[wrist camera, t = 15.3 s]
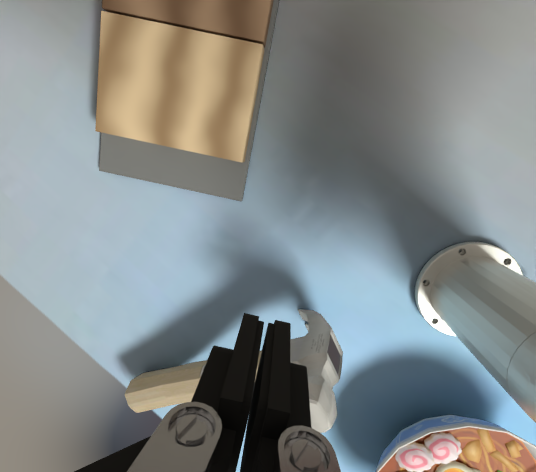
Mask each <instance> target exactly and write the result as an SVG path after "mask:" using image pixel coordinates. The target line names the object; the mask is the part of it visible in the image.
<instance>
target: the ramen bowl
mask: <svg viewBox="0 0 536 472" xmlns="http://www.w3.org/2000/svg"><path fill="white" fill-rule="evenodd" d="M376 472H536V446H535V445H533V444H531V443H529V442H528V441H526V440H524V439H522V438H520V437H518V436H517V435H515V434H513V433H511V432H509V431H507V430H505V429H504V428H502V427H500V426H498V425H496V424H493V423H491V422H488V421H485V420H480V419H474V418H468V417H462V416H456V415H445V416H438V417H432V418H426V419H423V420H421V421H419V422H417V423H415V424H413V425H411V426H409V427H407V428H405V429H403V430H401V431H400V432H399V434H398V435H397V436H396V437H395V438H394V439H393V440H392V442H391V443H390V444H389V445H388V446H387V447H386V449H385V450H384V451H383V453H382V455H381V457H380V459H379V462H378V465H377V469H376Z"/></svg>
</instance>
